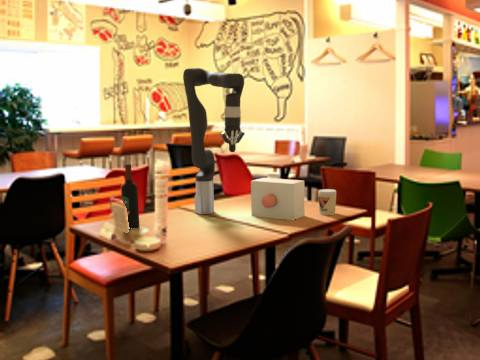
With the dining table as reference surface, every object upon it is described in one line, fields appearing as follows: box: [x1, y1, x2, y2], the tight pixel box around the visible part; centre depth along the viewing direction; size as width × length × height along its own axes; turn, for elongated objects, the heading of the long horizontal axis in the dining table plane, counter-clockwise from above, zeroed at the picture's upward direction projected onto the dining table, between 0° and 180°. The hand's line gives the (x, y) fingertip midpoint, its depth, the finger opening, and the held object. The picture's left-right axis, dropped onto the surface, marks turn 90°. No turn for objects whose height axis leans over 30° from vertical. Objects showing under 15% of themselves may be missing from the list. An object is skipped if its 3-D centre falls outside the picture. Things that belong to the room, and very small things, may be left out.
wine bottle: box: [120, 163, 140, 230], centre depth 261 cm, size 8×8×30 cm
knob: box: [262, 194, 277, 208], centre depth 276 cm, size 10×6×6 cm, turn 146°
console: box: [250, 177, 306, 221], centre depth 280 cm, size 12×24×18 cm, turn 56°
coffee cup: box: [317, 188, 337, 216], centre depth 283 cm, size 9×9×12 cm
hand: (232, 152), depth 267 cm, fingers closed
